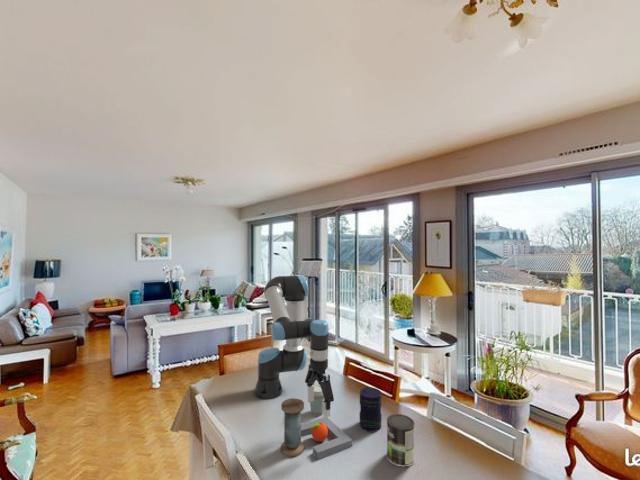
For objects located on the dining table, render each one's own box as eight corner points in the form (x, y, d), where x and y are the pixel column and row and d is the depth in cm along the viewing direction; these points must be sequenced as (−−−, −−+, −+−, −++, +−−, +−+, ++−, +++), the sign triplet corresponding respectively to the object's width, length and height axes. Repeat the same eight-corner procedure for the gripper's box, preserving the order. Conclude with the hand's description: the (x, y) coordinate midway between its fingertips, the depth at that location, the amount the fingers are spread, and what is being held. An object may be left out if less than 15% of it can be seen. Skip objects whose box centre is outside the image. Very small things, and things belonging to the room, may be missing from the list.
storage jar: (383, 421, 144) (383, 389, 145) (379, 433, 135) (380, 398, 136) (361, 417, 148) (361, 386, 148) (357, 429, 138) (357, 395, 139)
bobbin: (277, 446, 126) (277, 401, 126) (297, 440, 130) (297, 396, 131) (286, 459, 118) (286, 411, 119) (307, 452, 123) (307, 406, 123)
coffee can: (391, 468, 114) (391, 429, 114) (383, 450, 124) (383, 414, 125) (418, 466, 115) (418, 428, 115) (408, 448, 125) (408, 413, 125)
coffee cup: (324, 418, 147) (324, 393, 147) (306, 416, 148) (306, 391, 149) (327, 409, 155) (327, 385, 155) (310, 407, 157) (310, 383, 157)
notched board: (295, 432, 136) (295, 426, 136) (326, 422, 144) (326, 416, 144) (317, 459, 119) (317, 452, 119) (352, 446, 127) (352, 439, 127)
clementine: (313, 447, 125) (313, 429, 126) (306, 438, 132) (306, 421, 132) (330, 442, 129) (330, 424, 129) (322, 433, 135) (323, 416, 135)
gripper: (298, 350, 140) (297, 397, 140) (326, 370, 118) (326, 426, 118) (312, 347, 144) (312, 393, 144) (343, 367, 122) (342, 421, 122)
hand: (318, 408), depth 131 cm, fingers open, 13 cm apart
